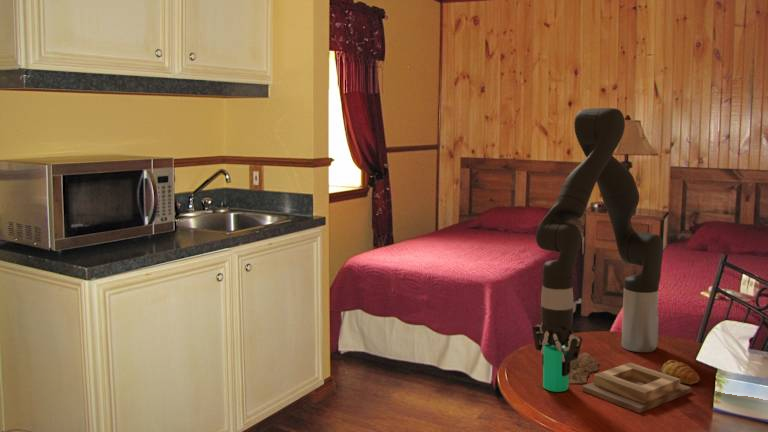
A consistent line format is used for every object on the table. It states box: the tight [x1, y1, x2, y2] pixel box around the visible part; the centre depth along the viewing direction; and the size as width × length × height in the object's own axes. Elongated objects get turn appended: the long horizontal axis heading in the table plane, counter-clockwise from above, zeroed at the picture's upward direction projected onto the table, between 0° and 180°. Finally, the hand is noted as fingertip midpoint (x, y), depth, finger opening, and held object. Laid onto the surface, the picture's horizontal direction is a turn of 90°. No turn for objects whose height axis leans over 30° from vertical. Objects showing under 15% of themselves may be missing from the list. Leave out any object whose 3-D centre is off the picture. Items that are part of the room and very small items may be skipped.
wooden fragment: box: [568, 352, 601, 386], centre depth 183 cm, size 26×11×1 cm, turn 147°
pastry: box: [660, 359, 701, 385], centre depth 175 cm, size 9×7×4 cm
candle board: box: [581, 362, 692, 414], centre depth 167 cm, size 20×16×4 cm
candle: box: [542, 345, 569, 393], centre depth 169 cm, size 6×6×12 cm
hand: (555, 371), depth 169 cm, fingers closed on candle, 4 cm apart
